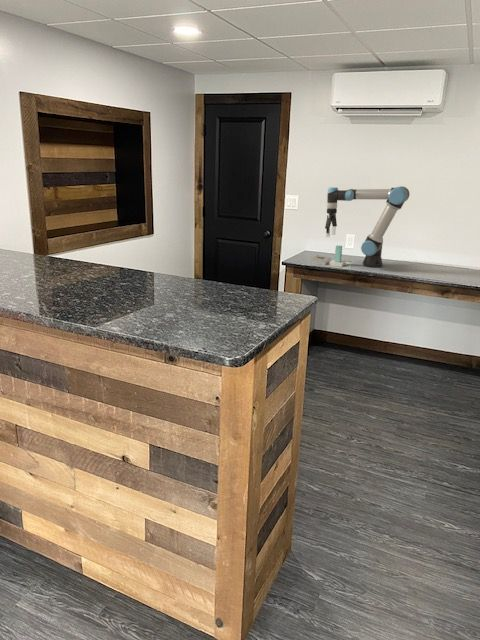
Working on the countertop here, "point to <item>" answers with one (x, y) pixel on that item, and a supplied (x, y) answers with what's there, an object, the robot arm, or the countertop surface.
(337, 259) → the plug
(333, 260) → the holster
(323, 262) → the port panel
